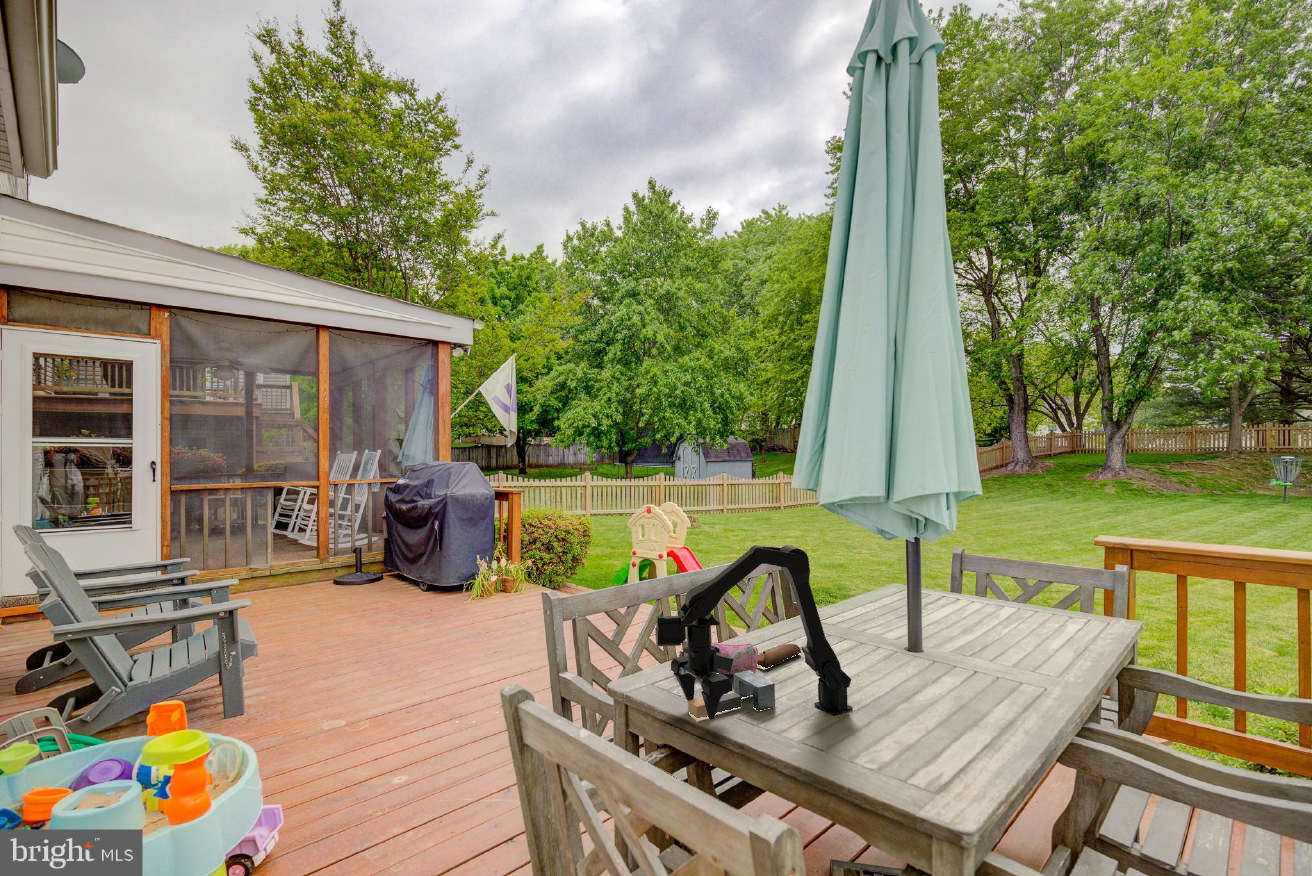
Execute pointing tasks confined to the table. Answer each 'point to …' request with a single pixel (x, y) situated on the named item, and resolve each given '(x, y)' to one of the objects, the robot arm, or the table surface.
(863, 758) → the table surface
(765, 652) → the sunglasses case
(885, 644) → the table surface
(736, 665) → the pencil case
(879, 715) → the table surface
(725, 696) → the plug
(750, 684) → the grey arch block
